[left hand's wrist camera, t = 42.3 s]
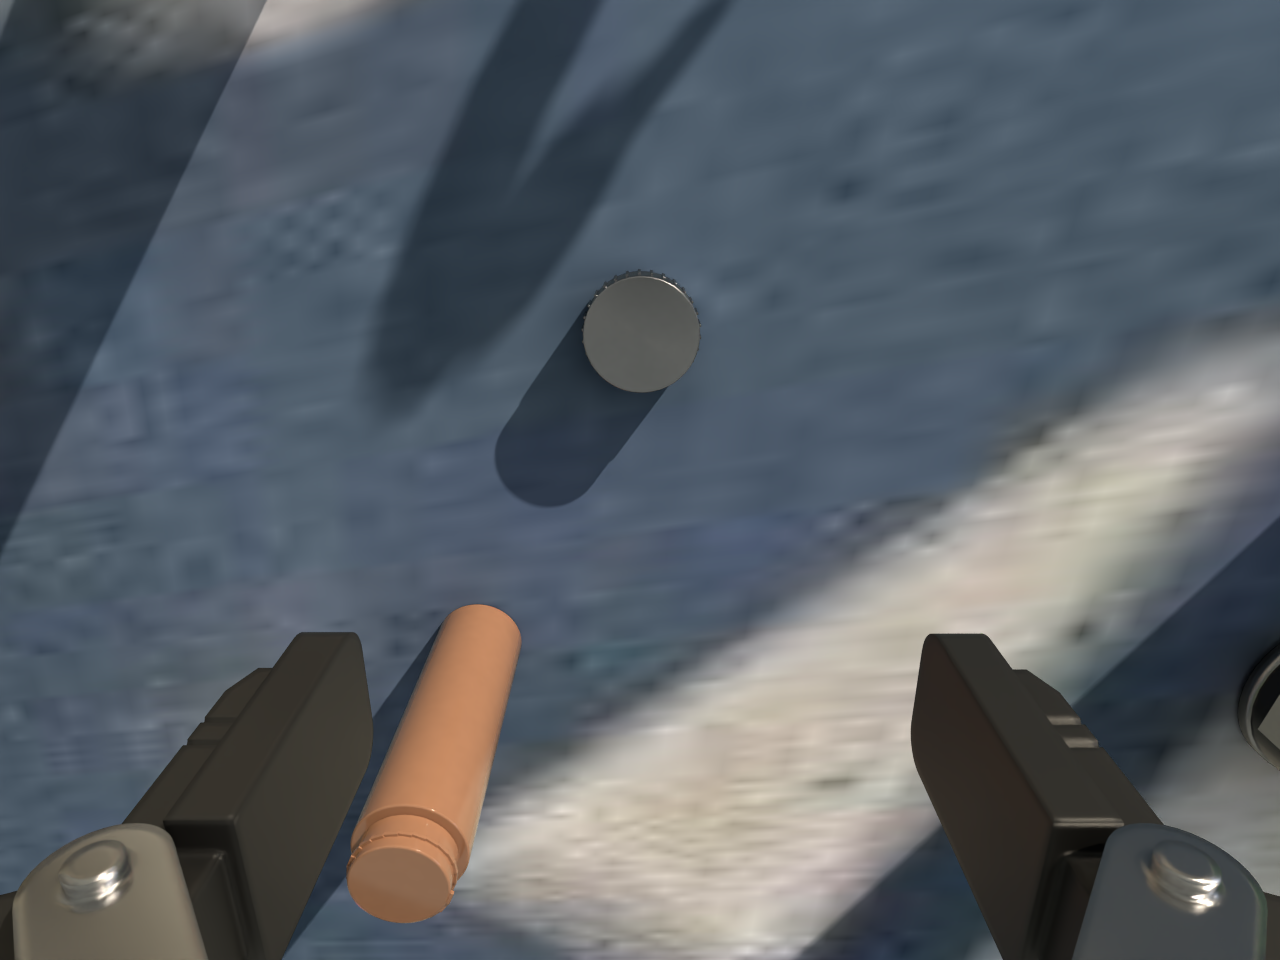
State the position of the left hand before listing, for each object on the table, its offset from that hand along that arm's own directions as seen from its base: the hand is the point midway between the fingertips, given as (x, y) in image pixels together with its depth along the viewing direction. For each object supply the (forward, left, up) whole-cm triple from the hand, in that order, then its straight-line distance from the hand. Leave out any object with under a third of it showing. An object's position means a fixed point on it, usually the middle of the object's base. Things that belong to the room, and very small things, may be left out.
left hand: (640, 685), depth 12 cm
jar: (-9, +15, -26) cm, 32 cm away
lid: (0, 0, -25) cm, 25 cm away
